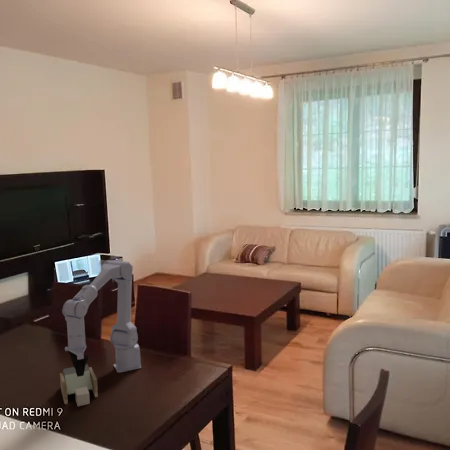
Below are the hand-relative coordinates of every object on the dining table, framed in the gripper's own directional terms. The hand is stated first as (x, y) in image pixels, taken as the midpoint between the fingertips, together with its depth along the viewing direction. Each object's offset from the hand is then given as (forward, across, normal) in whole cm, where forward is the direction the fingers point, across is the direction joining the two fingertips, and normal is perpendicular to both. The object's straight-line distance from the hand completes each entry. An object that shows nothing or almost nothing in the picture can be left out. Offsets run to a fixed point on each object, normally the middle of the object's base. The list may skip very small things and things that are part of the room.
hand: (78, 371), depth 161 cm
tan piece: (+9, -3, 0) cm, 10 cm away
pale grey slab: (+6, -5, 0) cm, 8 cm away
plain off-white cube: (+8, +1, 0) cm, 8 cm away
